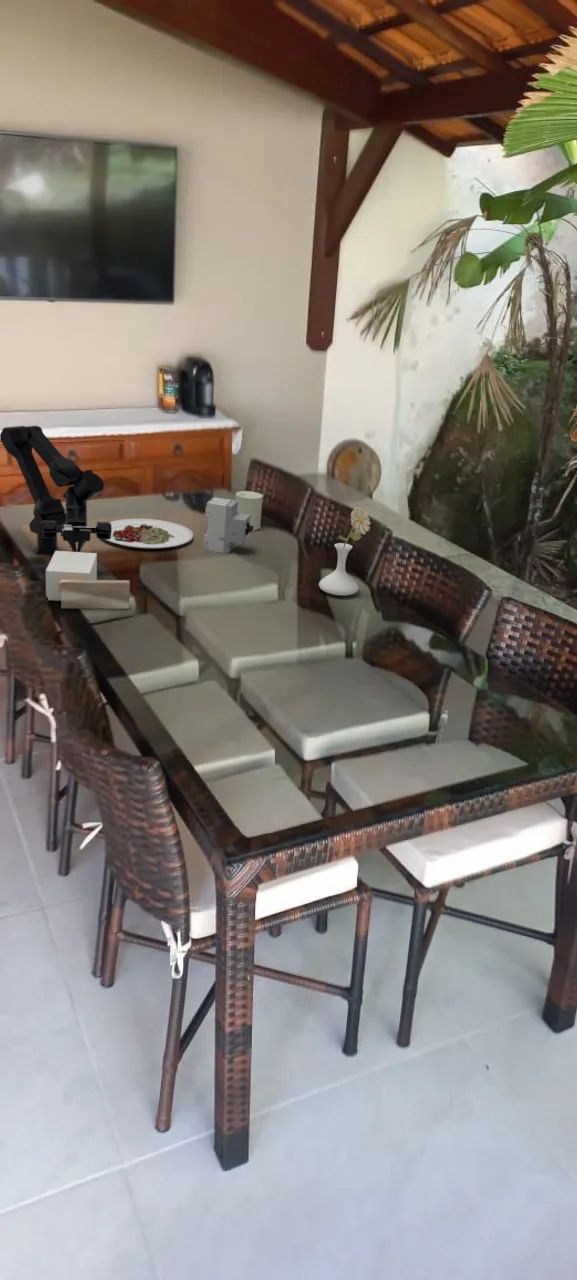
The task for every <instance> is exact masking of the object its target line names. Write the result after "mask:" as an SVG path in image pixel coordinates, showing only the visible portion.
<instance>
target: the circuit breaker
mask: <svg viewBox="0 0 577 1280" xmlns="http://www.w3.org/2000/svg"><path fill="white" fill-rule="evenodd" d="M237 507H238V501H236V499H228V498H221V497H212V498H211V499H210V500H209V501H207V502H206V506H205V513H204V515H205V517H207V526H206V529H207V530H206V533H205V534H204V535H203V549H202V550H204V551H205V550H206V551H208V552H209V551H210V552H216V553H221V554H222V553H223V554H229V553H230V552H231V551H232V550H233V549H234V548H235V547H236V546H235V545H236V544H240V545H243V544H244V543H245V542H246V541H247V540H248V539H250V533H252V532H251V531H252V530H253V527H254V526H250V518H251V515H250V514H244V513H237ZM234 546H235V547H234Z"/></svg>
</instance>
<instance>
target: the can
mask: <svg viewBox="0 0 577 1280" xmlns="http://www.w3.org/2000/svg"><path fill="white" fill-rule="evenodd" d="M263 498H264V496H263V494H262V493H259V492H257V491H256V492H255V491H247V490H243V491H237V492H236V493H235V501H238V507H237V513H244V514H250V515H251V518H250V526H254V527H253V529H257V528H260V529H261V519H262V508H263V507H262V506H263Z"/></svg>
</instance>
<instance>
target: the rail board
mask: <svg viewBox="0 0 577 1280" xmlns="http://www.w3.org/2000/svg"><path fill="white" fill-rule="evenodd" d="M130 585H131V584H130V580H129V579H128V580H127V579H126V580H123V579H122V580H119V579H117V580H116V579H115V580H113V579H108V580H107V579H97V580H61V601H60V604H61V605H60V608H61V609H99V608H100V609H102V610H103V609H111V610H113V609H114V610H115V609H116V610H120V609H123V610H124V609H125V610H126V609H130V592H131V591H130V590H131V589H130V588H131V587H130ZM100 609H99V610H100Z"/></svg>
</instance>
